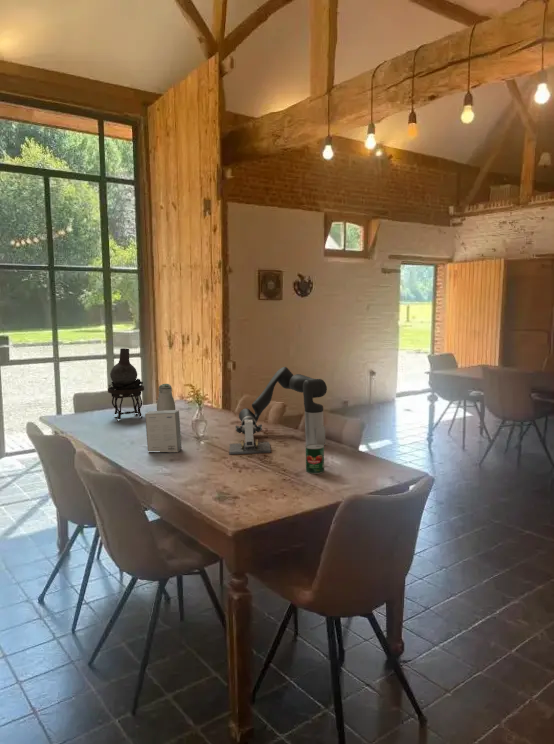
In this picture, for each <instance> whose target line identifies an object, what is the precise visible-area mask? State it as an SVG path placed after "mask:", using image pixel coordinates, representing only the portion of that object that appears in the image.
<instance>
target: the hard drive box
mask: <svg viewBox="0 0 554 744" xmlns="http://www.w3.org/2000/svg"><path fill="white" fill-rule="evenodd" d="M144 418H145V429H146V430H145V431H146V440H147V442H146V443H147V444H146V445H147V452H148V451H160V452H177V453H179V452H180V451H181V450H182V449H181V448H182V436H181V435H182V434H181V422H180V410H178V409H177V410H176V409H175V410H171V411H157V410H149V411H148V412H146V413H145V414H144ZM180 449H181V450H180ZM179 450H180V451H179ZM178 451H179V452H178Z"/></svg>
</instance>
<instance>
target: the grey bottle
mask: <svg viewBox="0 0 554 744" xmlns="http://www.w3.org/2000/svg"><path fill="white" fill-rule="evenodd" d="M175 403H176V402H175V400H174V397H173V388H172V385H171V384H170V383H161V384H160V385H159V386H158V398H157V402H156V411H171V410H176V404H175Z"/></svg>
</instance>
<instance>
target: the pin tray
mask: <svg viewBox="0 0 554 744" xmlns="http://www.w3.org/2000/svg"><path fill="white" fill-rule="evenodd" d="M254 440H255V441H254V446H247V447H246V446H245V442H244V441H245V439H242V440H241V442H240V443H239V442H238V443H230V444H229V447H228V448H229V449H228V450H229V453H228V454H229V455H243V454H244V455H250V454H251V455H252V454H267V453H268V454H269V453H272V449H271V444H270V441H263V442H260V441H259V440H258V438H257V439H256V438H255V439H254Z"/></svg>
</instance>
